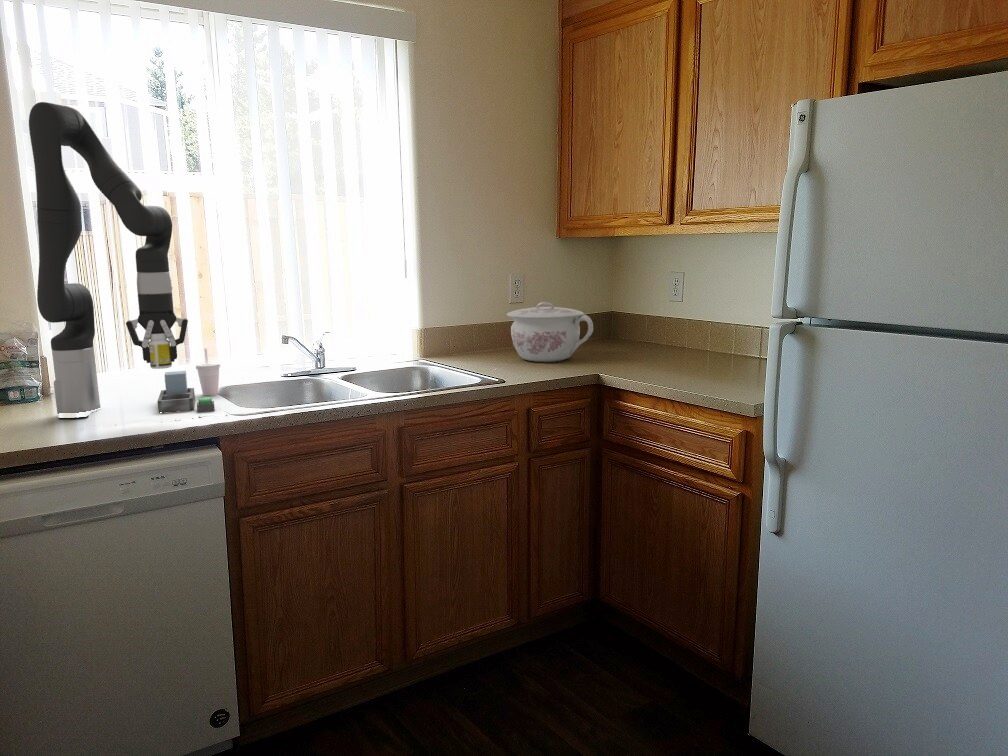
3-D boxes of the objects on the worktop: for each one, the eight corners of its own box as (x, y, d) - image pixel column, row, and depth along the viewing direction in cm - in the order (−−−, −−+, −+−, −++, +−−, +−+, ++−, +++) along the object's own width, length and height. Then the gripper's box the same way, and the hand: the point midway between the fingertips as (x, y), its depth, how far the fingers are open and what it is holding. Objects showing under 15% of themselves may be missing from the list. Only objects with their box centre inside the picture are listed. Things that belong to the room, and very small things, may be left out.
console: (197, 417, 189) (196, 405, 188) (198, 413, 193) (197, 402, 192) (214, 415, 190) (213, 403, 190) (214, 412, 194) (213, 400, 193)
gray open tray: (158, 418, 188) (156, 401, 188) (162, 405, 204) (160, 389, 203) (194, 415, 191) (193, 398, 190) (195, 402, 207) (194, 387, 206)
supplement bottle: (175, 365, 186) (172, 331, 185) (167, 369, 182) (164, 334, 180) (155, 365, 186) (152, 331, 185) (147, 369, 182) (143, 334, 180)
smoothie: (215, 395, 217) (211, 346, 214) (227, 397, 213) (223, 348, 210) (194, 398, 212) (189, 349, 209) (206, 401, 208) (201, 351, 205)
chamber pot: (494, 357, 278) (493, 301, 274) (560, 352, 289) (560, 297, 286) (529, 368, 253) (528, 306, 249) (599, 361, 264) (599, 302, 261)
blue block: (167, 405, 198) (164, 375, 196) (168, 401, 202) (165, 372, 201) (188, 403, 200) (185, 373, 198) (188, 399, 204) (185, 370, 203)
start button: (199, 416, 189) (198, 400, 189) (199, 413, 192) (198, 397, 192) (213, 415, 191) (211, 399, 190) (213, 412, 193) (211, 396, 193)
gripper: (119, 293, 175) (126, 366, 178) (186, 291, 180) (192, 362, 183) (123, 291, 182) (129, 361, 185) (187, 289, 187) (193, 358, 190)
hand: (160, 361), depth 184 cm, fingers closed on supplement bottle, 4 cm apart
